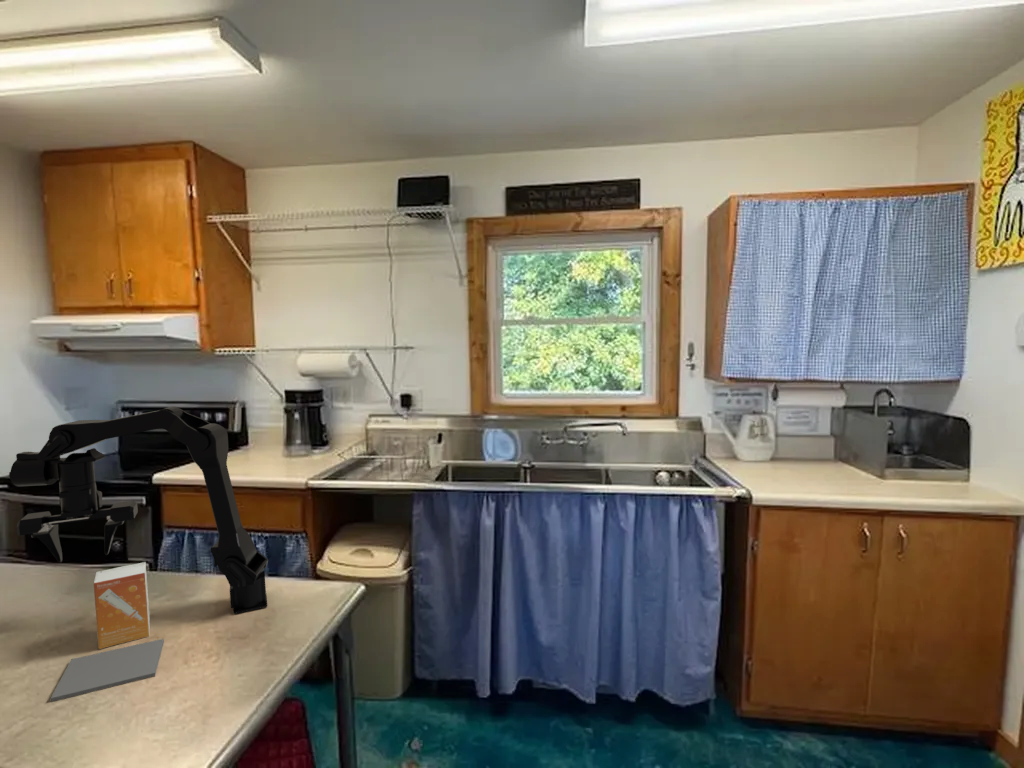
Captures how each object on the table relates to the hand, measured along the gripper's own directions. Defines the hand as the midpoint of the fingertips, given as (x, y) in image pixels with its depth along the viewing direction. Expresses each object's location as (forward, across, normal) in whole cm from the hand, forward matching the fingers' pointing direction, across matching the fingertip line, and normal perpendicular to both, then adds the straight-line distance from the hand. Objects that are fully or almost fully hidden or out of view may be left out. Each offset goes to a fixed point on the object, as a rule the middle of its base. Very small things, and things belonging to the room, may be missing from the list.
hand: (84, 557), depth 111 cm
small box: (+13, -8, +12) cm, 20 cm away
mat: (+13, -8, +24) cm, 28 cm away
